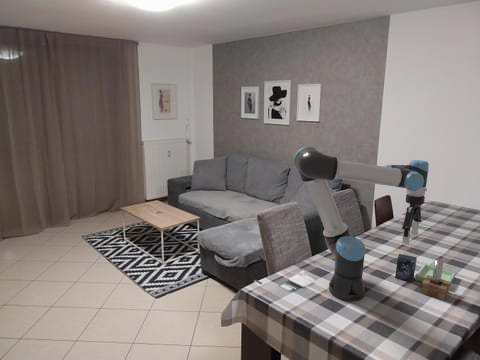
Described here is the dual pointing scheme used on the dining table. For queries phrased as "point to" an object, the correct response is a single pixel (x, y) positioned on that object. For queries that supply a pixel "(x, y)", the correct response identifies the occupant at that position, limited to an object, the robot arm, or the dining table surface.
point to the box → (405, 267)
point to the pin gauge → (437, 271)
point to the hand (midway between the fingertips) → (410, 238)
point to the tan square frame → (435, 288)
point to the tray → (429, 270)
